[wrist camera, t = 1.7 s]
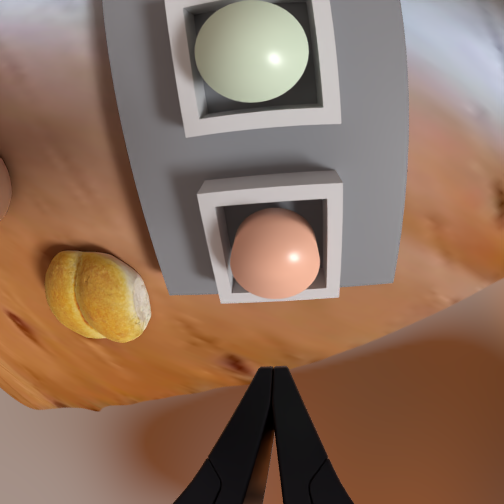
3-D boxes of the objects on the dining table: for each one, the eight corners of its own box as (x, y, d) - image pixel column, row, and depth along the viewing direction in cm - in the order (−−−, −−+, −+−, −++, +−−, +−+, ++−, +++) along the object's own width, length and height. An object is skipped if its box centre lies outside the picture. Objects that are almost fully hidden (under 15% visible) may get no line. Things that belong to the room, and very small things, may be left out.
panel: (353, -121, 6) (367, -149, 2) (384, 264, 19) (401, 302, 16) (114, -89, 7) (84, -109, 4) (177, 276, 21) (161, 314, 18)
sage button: (298, 5, 9) (301, -4, 8) (308, 95, 11) (313, 98, 10) (199, 17, 10) (188, 10, 8) (211, 104, 12) (202, 109, 10)
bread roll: (44, 244, 21) (16, 273, 17) (138, 245, 20) (115, 281, 17) (76, 320, 25) (57, 350, 22) (161, 330, 25) (147, 368, 21)
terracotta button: (315, 204, 14) (319, 221, 13) (316, 275, 16) (319, 296, 15) (228, 211, 14) (223, 228, 13) (240, 279, 17) (237, 300, 15)
